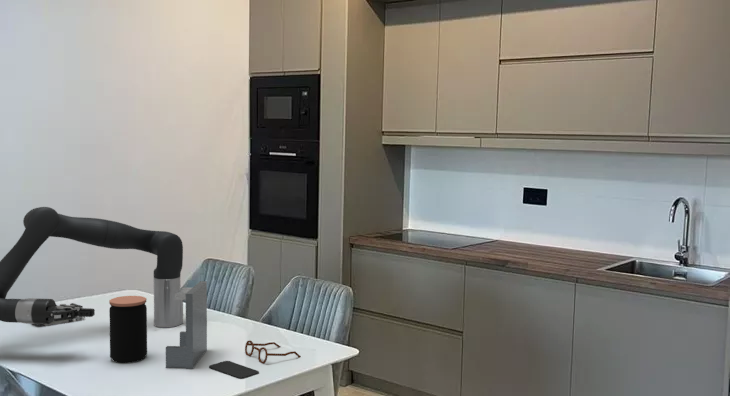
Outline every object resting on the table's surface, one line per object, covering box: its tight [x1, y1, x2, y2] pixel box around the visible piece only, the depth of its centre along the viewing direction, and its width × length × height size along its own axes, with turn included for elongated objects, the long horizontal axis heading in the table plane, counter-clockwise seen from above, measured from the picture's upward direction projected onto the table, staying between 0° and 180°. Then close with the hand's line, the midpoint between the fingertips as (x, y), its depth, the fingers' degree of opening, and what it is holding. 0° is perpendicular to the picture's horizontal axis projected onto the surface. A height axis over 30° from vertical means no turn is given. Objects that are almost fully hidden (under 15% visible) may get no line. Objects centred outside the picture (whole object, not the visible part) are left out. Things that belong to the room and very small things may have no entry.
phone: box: [208, 360, 260, 380], centre depth 198 cm, size 7×1×15 cm
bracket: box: [165, 280, 208, 370], centre depth 206 cm, size 8×18×22 cm, turn 0°
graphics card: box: [42, 317, 86, 327], centre depth 248 cm, size 17×4×12 cm
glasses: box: [244, 340, 302, 365], centre depth 212 cm, size 13×13×5 cm
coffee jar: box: [109, 295, 148, 364], centre depth 206 cm, size 11×11×18 cm
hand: (93, 312), depth 206 cm, fingers closed
